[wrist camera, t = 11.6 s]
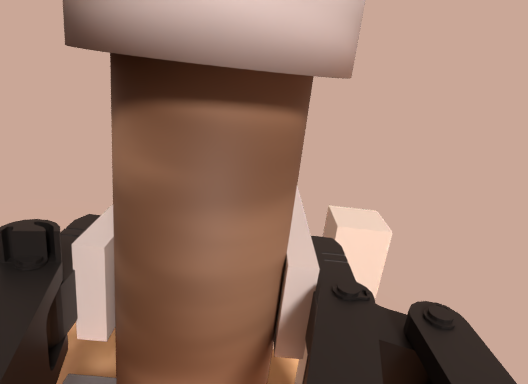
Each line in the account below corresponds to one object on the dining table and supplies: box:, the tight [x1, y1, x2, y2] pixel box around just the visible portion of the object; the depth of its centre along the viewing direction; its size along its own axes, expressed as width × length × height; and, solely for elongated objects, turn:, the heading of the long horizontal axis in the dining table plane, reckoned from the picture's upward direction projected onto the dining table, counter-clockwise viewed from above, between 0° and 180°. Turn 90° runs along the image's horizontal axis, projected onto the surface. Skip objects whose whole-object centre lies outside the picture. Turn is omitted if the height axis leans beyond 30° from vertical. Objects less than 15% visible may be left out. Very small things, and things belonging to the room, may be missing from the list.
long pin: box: [63, 0, 365, 384], centre depth 11 cm, size 6×6×16 cm
